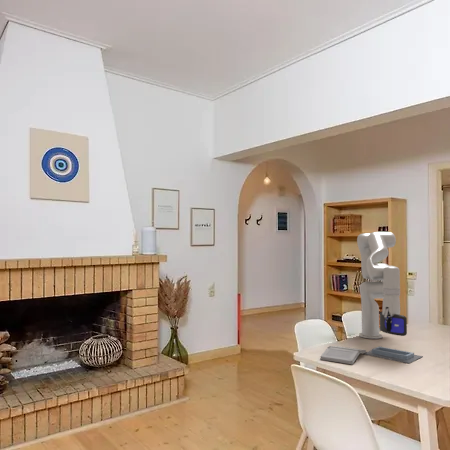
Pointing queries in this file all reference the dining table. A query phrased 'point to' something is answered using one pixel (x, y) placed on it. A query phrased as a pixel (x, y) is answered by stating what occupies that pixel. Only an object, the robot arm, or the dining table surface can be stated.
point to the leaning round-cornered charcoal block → (394, 325)
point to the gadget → (341, 354)
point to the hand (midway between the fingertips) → (392, 330)
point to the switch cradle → (393, 354)
